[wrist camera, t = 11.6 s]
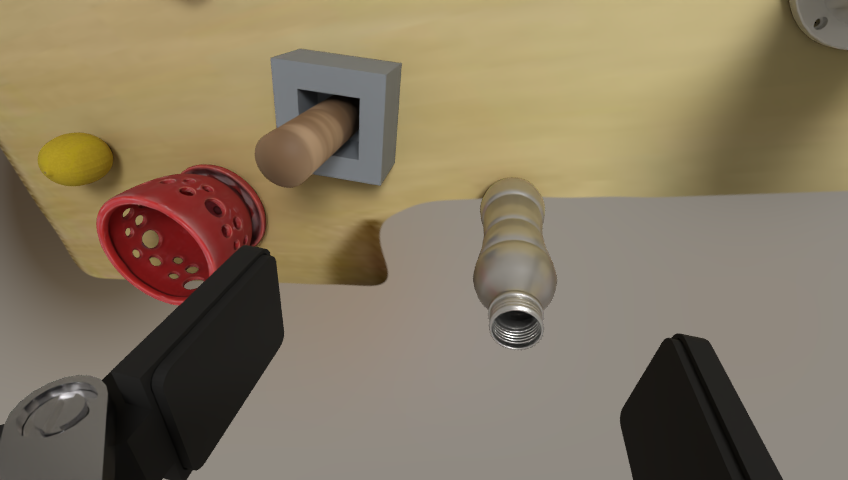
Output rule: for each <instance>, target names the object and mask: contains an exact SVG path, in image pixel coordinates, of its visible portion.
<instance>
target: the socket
mask: <svg viewBox="0 0 848 480" xmlns="http://www.w3.org/2000/svg"><path fill="white" fill-rule="evenodd" d="M401 66H402V63H396V62H389V61H382V60H375V59H368V58H361V57H354V56H347V55H340V54H333V53H327V52H320V51H313V50H306V49H298V50H295V51H291V52H288V53H285V54H281V55H278V56H275V57H272V58H271V69H272V80H273V91H274V103H275V114H276V125H277V128H278V127H280V126H281V125H283V124H285V123H286V122H288V121H290V120H291V119H293V118H295V117H296V116H298V115H300V114H302V113H303V112H305V111H307V110H308V109H310V108H312V107H313V106H315V105H317V104H318V103H320V102H322V101H324V100H325V99H327V98H329V97H330V96H332V95H334V94H335V95H342V96H348V97H355V98H359V99H360V115H359V130H358V131H357V132H356V133H355V134H354V135H353V136H352V137H351V138H350V139H349V140H348V141H347V142H345V143H344V144H343V145H342V146H341V147H340V148H339V149H338V150H337V151H336V152H335V153H334V154H333V155H332V156H331V157H330V158H328V159H327V160H326V161H325V162H324V163H323V164H322V165H321V166H320V167H319V168H318V169H317V170H316V171H315V172H314V173H313V174H315V175H321V176H327V177H333V178H339V179H345V180H351V181H357V182H363V183H368V184H374V185H380V186H381V184H382V182H383V181H384V179H385V178H386V176H387V174H388V173H389V171H390V170H391V168H392V166H393V165H394V163H395V151H396V137H397V123H398V109H399V94H400V80H401Z"/></svg>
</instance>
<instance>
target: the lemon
mask: <svg viewBox="0 0 848 480" xmlns="http://www.w3.org/2000/svg"><path fill="white" fill-rule="evenodd" d="M112 164H113V154H112V152H111V150H110V148H109V146H108V145H107V144H106V143H105V142H104V141H103V140H101V139H99V138H98V137H96V136H93V135H91V134H86V133H69V134H64V135H61V136H58V137H56V138H54V139H53V140H51V141H49V142H48V143H46V144H45V145H44V146H43V147H42V149H41V150H40V152H39V155H38V165H39V168H40V170H41V171H42V173H43V174H44V175H45V176H46V177H47V178H49V179H50V180H51V181H53V182H55V183H58V184H61V185H64V186H81V185H85V184H89V183H93V182H95V181H97V180H99V179H101V178H102V177H104V176H105V175H106V174H107V173H108V172H109V171H110V169H111V167H112Z"/></svg>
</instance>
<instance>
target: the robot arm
mask: <svg viewBox="0 0 848 480" xmlns="http://www.w3.org/2000/svg"><path fill="white" fill-rule="evenodd" d="M789 3H790V7H791V11H792V15H793V18H794V19H795V21H796V23H797V24H798V26H799V28H800V29H801V30H802V31H803V32H804V33H805V34H806V35H807V36H808V37H809V38H810V39H812V40H814V41H816V42H818V43H820V44H822V45H824V46H829V47H833V48H837V49H844V50H848V0H789ZM816 20H817V22H816V24H815V25H814V23H815V21H816ZM283 338H284V327H283V318H282V310H281V301H280V292H279V283H278V274H277V266H276V259H275V258H274V257H273V256H270V252H269V251H268V250H267V249H264V248H259V247H254V246H249V245H243V246H241V247H240V248H239V249H238V250H237V251H236V252H235V253H234V254H233V255H231V256H230V257H229V258H228V259H227V260H226V261H225V262H224V263H223V264H222V265H221V266H220V267H219V268H218V269H217V270H216V271H215V272H214V273H213V274H212V275H211V276H210V277H209V278H208V279H206V280H205V281H204V282H203V283H202V284H201V285H200V286H199V287H198V288H197V289H196V290H195V291H194V292H193V293H192V294H191V295H190V296H189V297H188V298H187V299H186V300H185V301H184V302H183V303H181V304H180V305H179V306H178V307H177V308H176V309H175V310H174V311H173V312H172V313H171V314H170V315H169V316H168V317H167V318H166V319H165V320H164V321H163V322H162V323H161V324H160V325H159V326H158V327H156V328H155V329H154V330H153V331H152V332H151V333H150V334H149V335H148V336H147V337H146V338H145V339H144V340H143V341H142V342H141V343H140V344H139V345H138V346H137V347H136V348H135V349H134V350H132V351H131V352H130V354H128V355H127V356H126V357H125V358H124V359H123V360H122V361H121V362H120V363H119V364H118V365H117V366H116V367H115V368H114V369H113V370H112V371H111V372H110V373H109V374H108V375H107V376H106V377H105V378H104V379H103V380H101V379H99V378H96V377H93V376H87V375H86V376H84V375H76V376H71V377H65V378H62V379H59V380H56V381H53V382H51V383H48V384H46V385H45V386H42V387H41V388H39V389H37V390H35V391H33V392H32V393H31V394H29V395H28V396H27V397H25V398H24V399H23V400H22V401H20V402H19V403H18V405H17V406H16V407H15V408H14V409H13V410H12V411H11V412H10V414H9V416H8V418H7V420H6V422H5V424H3V425H0V480H162V479H163V478H165V479H168V480H187V478H188V477H189V475H190V474H191V472H192V470H198V469H200V468H201V467H202V466H203V465H204V463H205V462H206V460H207V459H208V457H209V456H210V454H211V452H212V451H213V450H214V448H215V446H216V445H217V443H218V442H219V440H220V439H221V437H222V436H223V434H224V433H225V431H226V429H227V428H228V426H229V425H230V423H231V422H232V420H233V419H234V417H235V416H236V414H237V413H238V411H239V409H240V408H241V406H242V405H243V403H244V402H245V400H246V398H247V397H248V396H249V394H250V393H251V391H252V389H253V388H254V386H255V385H256V383H257V382H258V380H259V379H260V377H261V375H262V374H263V372H264V371H265V369H266V368H267V366H268V365H269V363H270V362H271V360H272V359H273V357H274V356H275V354H276V352H277V351H278V349H279V348H280V346H281V344H282V341H283ZM620 424H621V429H622V434H623V437H624V442H625V446H626V450H627V455H628V459H629V464H630V468H631V472H632V477H633V480H783V479H782V477H781V475H780V473H779V471H778V469H777V467H776V466H775V464H774V462H773V460H772V458H771V456H770V455H769V453H768V451H767V449H766V447H765V445H764V443H763V441H762V439H761V438H760V436H759V434H758V432H757V430H756V428H755V426H754V425H753V422H752V421H751V419H750V417H749V415H748V413H747V411H746V409H745V408H744V406H743V404H742V402H741V400H740V398H739V396H738V394H737V392H736V391H735V389H734V387H733V385H732V383H731V381H730V379H729V377H728V376H727V374H726V372H725V370H724V368H723V366H722V364H721V363H720V361H719V359H718V357H717V355H716V353H715V351H714V349H713V347H712V346H711V344H710V343H709V341H708V340H706V339H703V338H698V337H693V336H689V335H684V334H675V335H674V336H673V337H672V338H666V339H665V340H664V341H663V342H662V343H661V345H660V347H659V349H658V350H657V352H656V354H655V355H654V357H653V359H652V360H651V362H650V364H649V365H648V367H647V368H646V370H645V372H644V373H643V375H642V377H641V378H640V380H639V382H638V384H637V385H636V387H635V388H634V390H633V392H632V393H631V395H630V397H629V398H628V400H627V402H626V403H625V405H624V407H623V408H622V411H621V415H620Z"/></svg>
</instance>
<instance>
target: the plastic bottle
mask: <svg viewBox="0 0 848 480" xmlns="http://www.w3.org/2000/svg"><path fill="white" fill-rule="evenodd" d="M480 213H481V220H482V224H483V227H484V240H483V245H482V249H481V252H480V255H479V257H478V260H477V263H476V266H475V270H474V276H473V282H474V287H475V290H476V293H477V295H478V298H479V300H480V301H481V303H482V304H483V305H484V306H485V307H486V308H487V309H488V317H489V330H490V334H491V336H492V338H493V339H494V340H495V341H496V342H497V343H498V344H499V345H501V346H503V347H505V348H508V349H513V350H523V349H528V348H531V347H533V346H535V345H536V344H537V343H538V342H539V341H540V340H541V338H542V336H543V332H544V326H543V320H544V312H543V310H544V309H545V308H546V307H547V306H548V305H549V304H550V302H551V301H552V299H553V296H554V293H555V290H556V286H557V275H556V272H555V269H554V265H553V262H552V260H551V258H550V256H549V253H548V251H547V249H546V247H545V243H544V239H543V235H542V229H543V228H542V227H543V222H544V216H545V205H544V201H543V198H542V197H541V195H540V193H539V192H538V190H537V189H536V188H535V186H534V185H532V184H531V183H530V182H528V181H526V180H524V179H521V178H514V177H511V178H504V179H501V180H499V181H497V182H495V183H494V184H493V185H491V186H490V188H489V189H488V190H487V192H486V194H485V195H484V197H483V199H482V202H481V206H480Z"/></svg>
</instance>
